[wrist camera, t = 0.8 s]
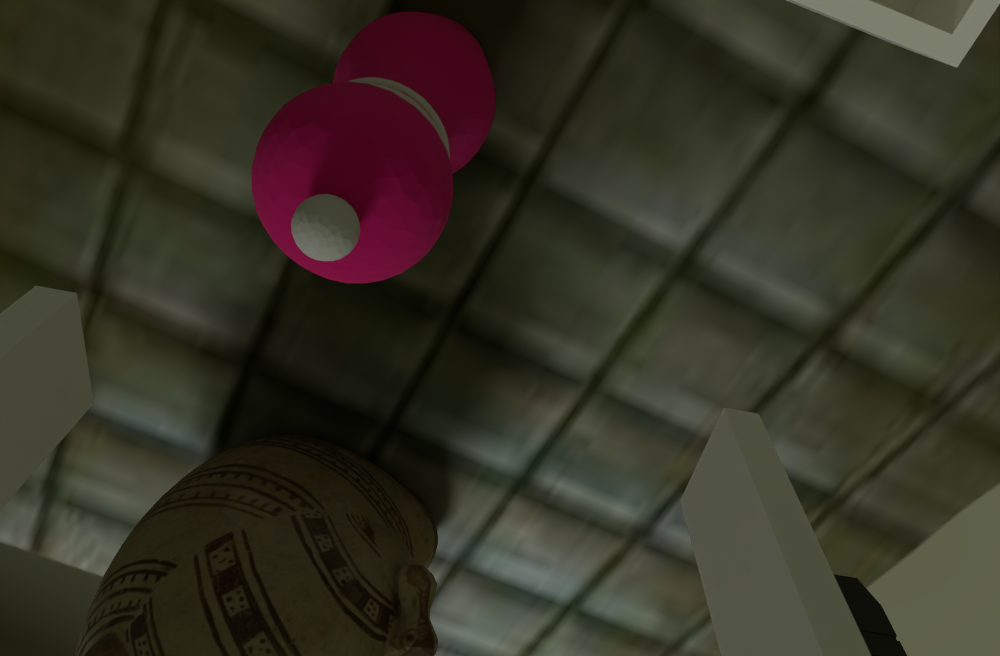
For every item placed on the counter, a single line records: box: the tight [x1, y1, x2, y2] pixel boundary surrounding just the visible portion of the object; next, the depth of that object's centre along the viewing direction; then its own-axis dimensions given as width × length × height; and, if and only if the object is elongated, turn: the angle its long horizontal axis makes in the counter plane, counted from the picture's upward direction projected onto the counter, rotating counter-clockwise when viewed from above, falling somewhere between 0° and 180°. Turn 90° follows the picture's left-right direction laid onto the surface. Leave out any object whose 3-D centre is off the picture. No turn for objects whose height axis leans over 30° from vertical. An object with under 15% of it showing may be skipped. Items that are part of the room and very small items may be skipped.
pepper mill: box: [252, 12, 496, 283], centre depth 26 cm, size 7×7×20 cm
